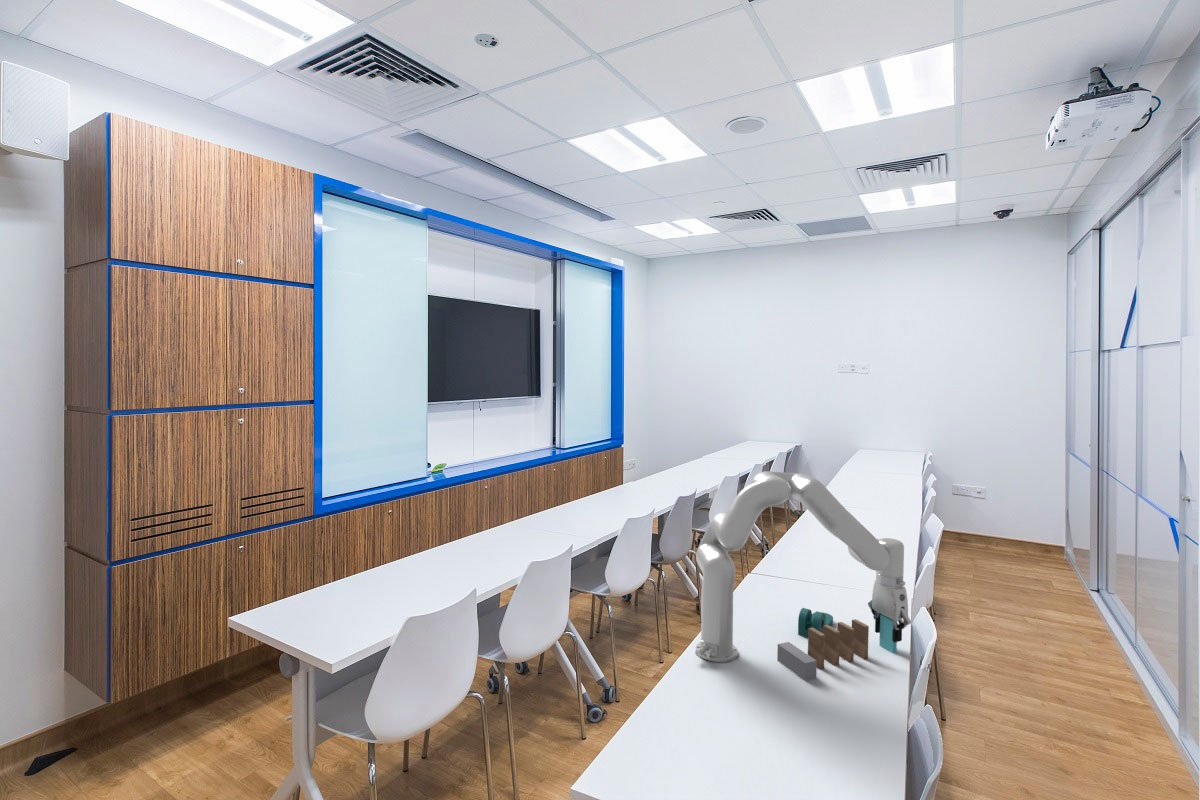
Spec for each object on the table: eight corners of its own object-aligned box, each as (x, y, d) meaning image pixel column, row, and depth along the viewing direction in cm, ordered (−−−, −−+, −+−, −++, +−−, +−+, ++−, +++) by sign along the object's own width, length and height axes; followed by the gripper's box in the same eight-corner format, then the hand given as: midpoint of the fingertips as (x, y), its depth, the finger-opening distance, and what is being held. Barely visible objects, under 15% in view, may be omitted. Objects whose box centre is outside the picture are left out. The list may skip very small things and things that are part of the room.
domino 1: (812, 660, 172) (812, 627, 171) (823, 668, 167) (824, 634, 167) (807, 661, 171) (808, 628, 171) (819, 669, 167) (820, 635, 166)
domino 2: (826, 657, 174) (827, 624, 173) (839, 665, 169) (839, 631, 169) (822, 658, 173) (823, 625, 173) (834, 666, 169) (835, 632, 168)
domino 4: (855, 650, 178) (855, 619, 177) (867, 658, 173) (868, 625, 172) (851, 651, 177) (851, 620, 177) (863, 659, 172) (864, 626, 172)
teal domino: (883, 644, 182) (884, 613, 181) (896, 652, 177) (897, 620, 176) (879, 645, 181) (880, 614, 181) (892, 652, 176) (893, 621, 176)
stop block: (788, 658, 173) (788, 641, 173) (816, 677, 162) (816, 660, 162) (777, 660, 172) (777, 644, 172) (804, 680, 161) (805, 663, 160)
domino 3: (841, 653, 176) (841, 621, 175) (853, 661, 171) (854, 628, 171) (836, 654, 175) (837, 622, 175) (849, 662, 171) (849, 629, 170)
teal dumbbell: (819, 641, 185) (819, 617, 184) (798, 635, 189) (798, 611, 188) (835, 621, 199) (835, 599, 198) (815, 616, 203) (815, 594, 202)
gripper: (922, 587, 171) (921, 646, 172) (876, 569, 187) (875, 623, 188) (904, 591, 169) (902, 651, 169) (858, 571, 185) (857, 626, 186)
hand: (888, 636), depth 179 cm, fingers open, 5 cm apart
